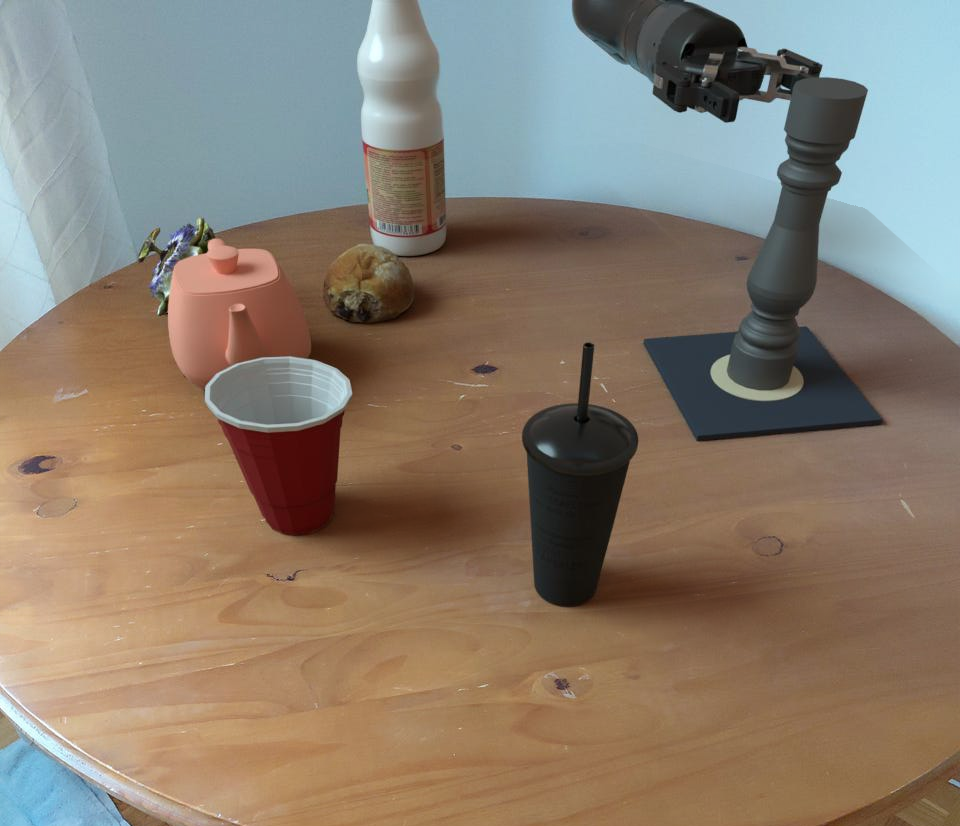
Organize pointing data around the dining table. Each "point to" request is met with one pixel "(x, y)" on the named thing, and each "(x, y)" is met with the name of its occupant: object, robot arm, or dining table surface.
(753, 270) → the candle holder
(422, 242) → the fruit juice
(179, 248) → the passion flower
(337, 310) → the bread roll
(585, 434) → the drinking cup
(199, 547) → the dining table surface
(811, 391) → the placemat
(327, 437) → the plastic cup
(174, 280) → the teapot
